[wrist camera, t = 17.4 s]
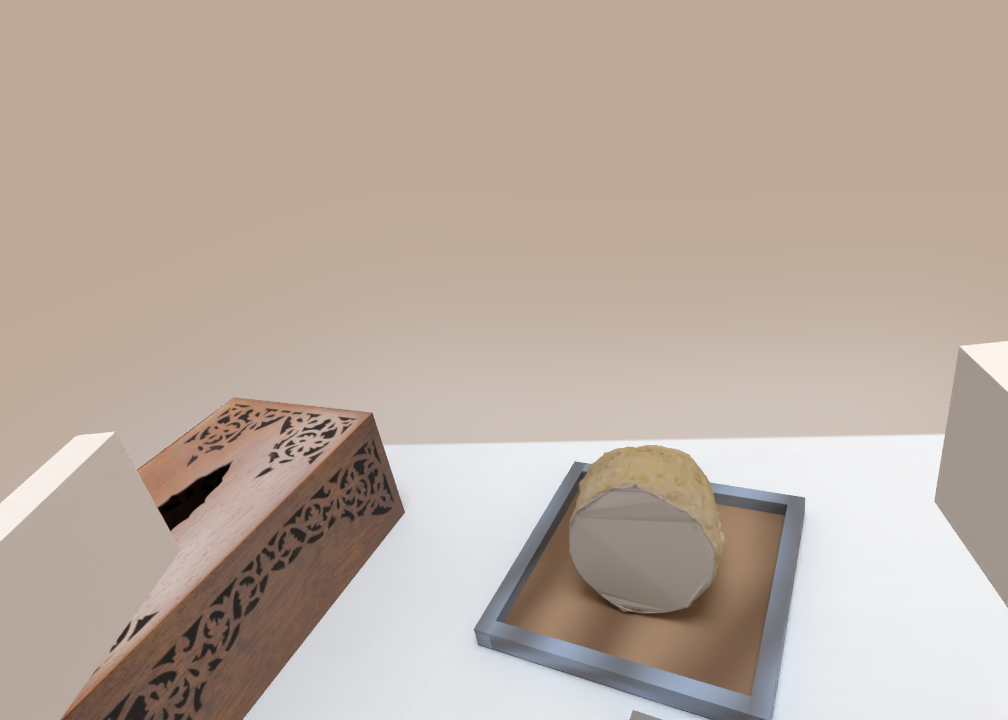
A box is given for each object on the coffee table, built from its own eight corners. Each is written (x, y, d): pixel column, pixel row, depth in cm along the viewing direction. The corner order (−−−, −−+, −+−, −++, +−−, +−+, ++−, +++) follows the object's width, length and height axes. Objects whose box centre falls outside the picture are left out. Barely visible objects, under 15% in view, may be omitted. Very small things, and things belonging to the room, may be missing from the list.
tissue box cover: (145, 849, 34) (48, 732, 30) (-9, 759, 41) (-108, 652, 36) (405, 514, 54) (372, 412, 50) (274, 489, 61) (234, 397, 56)
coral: (523, 553, 38) (568, 405, 43) (581, 613, 45) (615, 480, 50) (692, 583, 33) (721, 412, 38) (728, 645, 40) (748, 494, 45)
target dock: (478, 644, 41) (473, 629, 41) (577, 475, 54) (574, 461, 54) (768, 737, 33) (769, 720, 33) (804, 513, 46) (805, 497, 46)
